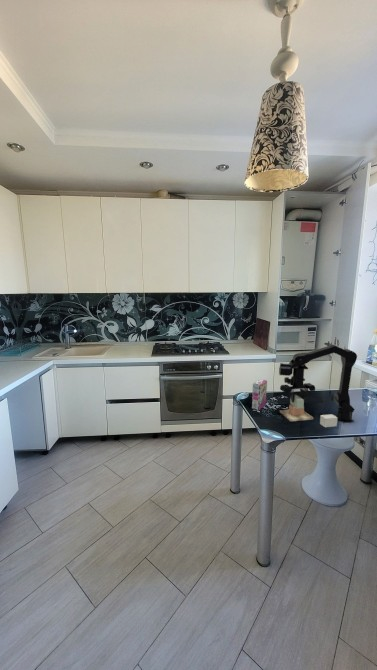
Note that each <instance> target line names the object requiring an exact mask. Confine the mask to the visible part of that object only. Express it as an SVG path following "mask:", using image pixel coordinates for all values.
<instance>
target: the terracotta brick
mask: <svg viewBox="0 0 377 670" xmlns="http://www.w3.org/2000/svg"><path fill="white" fill-rule="evenodd" d="M288 410H289V414H291V415H292V416H299V415H304V411H305V406H304V407H303V408H299V409H297V408H295V407H294V406H293V405H291V404H288Z"/></svg>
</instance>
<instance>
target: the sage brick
mask: <svg viewBox="0 0 377 670" xmlns="http://www.w3.org/2000/svg"><path fill="white" fill-rule="evenodd" d="M289 403H290V404H289V405H293V406H294V407H295V408H297V409H299V408H303V407H304V408H305V405H304V403H305V398H304V399H302V398H301V397H300V395H297V394H295V398H294V402H292V401H291V398H290V399H289Z"/></svg>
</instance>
